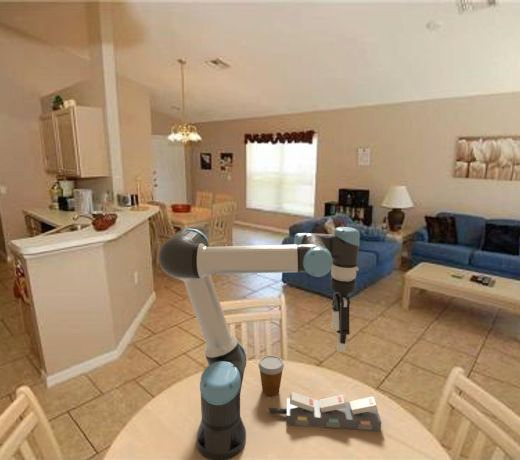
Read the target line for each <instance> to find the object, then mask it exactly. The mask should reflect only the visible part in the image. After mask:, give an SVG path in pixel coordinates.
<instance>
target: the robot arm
mask: <svg viewBox="0 0 520 460" xmlns="http://www.w3.org/2000/svg"><path fill="white" fill-rule="evenodd" d="M360 236H361V235H360V231H359V230H358V229H357V228H354V227H349V226H348V227H347V226H338V227H336V228H335V229H334V232H333V233H329V234H328V233H312V232H311V233H309V232H301V233H300V232H298V233H296V234H295V235H294V240H293V241H294V242H293V244H265V245H263V244H262V245H261V244H260V245H257V244H256V245H231V246H230V245H229V246H228V245H227V246H210V244H209V243H210V242H209V239H208V237H207V236H206V234H205V233H203V232H202V231H201V230H199V229H196V228H192V227H191V228H185V229H181V230H179V231H177V232H176V233H174V235H172V236H171V237H169V239H167V240H166V241H164V242H163V243H162V244H161V245H160V248H159V250H158V255H157V261H158V263H159V264H158V265H159V267H160V269H161V270H162V271H163V272H164V273H165V274H167V275H168V276H170V277H173V278H175V279H177V280H180V281H182V282H183V283H184V285H185V289H186V291H187V293H188V297H189V300H190V302H191V305H192V308H193V311H194V315H195V316H196V319H197V322H198V325H199V327H200V330H201V333H202V336H203V339H204V342H205V344H206V346H205V348H204V352H203V353H204V355H205V359H206V362H207V365H208V366H206V367H205V368H204V369H203V371H202V372H201V377H200V381H199V391H200V409H201V421H200V424H199V426H198V429H197V432H196V448H197V450H198V452H199V453H200V454H201V455H202V456H203V457H205V458H207V459H208V460H229V459H232V458H234V457H236V456H238V454H240V453H241V452H242V450H243V449H244V447H245V445H246V444H247V432H246V427H245V425H244V422H243V419H242V417H241V391H242V387H243V380H244V376H245V375H244V374H245V371H246V370H245V369H246V366H247V353H246V351H245V347H244V346H243V345H242V344H241V343H239V340H238V338H237V337H235V336H232V334H231V331H230V328H229V325H228V322H227V319H226V317H225V313H224V311H223V308H222V304H221V302H220V298H219V296H218V293H217V289H216V287H215V284H214V281H213V277H212V275H234V274H241V275H242V274H278V273H280V274H281V273H283V274H284V273H286V274H287V273H307V274H308V275H310V276H312V277H315V278H319V277H324V276H326V275H327V274H329V273H330V275H331V277H330V283H329V284H330V285H329V287H330V289H331V290H332V291H333V297H332V302H331V306H332V313H331V314H332V315H331V328H330V329H331V330H333V331H334V330H335V331H336V333H337V341H336V352H337V353H347V344H348V343H347V342H348V336H349V335H350V334H351V332H350V303H351V301H350V296H349V294H351V293H354V292H355V291H356V281H357V280H356V277H357V272H358V271H359V267H358V258H359V249H360ZM330 271H331V272H330Z"/></svg>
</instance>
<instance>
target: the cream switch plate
mask: <svg viewBox="0 0 520 460" xmlns="http://www.w3.org/2000/svg"><path fill="white" fill-rule="evenodd" d="M318 400H320V408H321V411H322V413H323V412H327V411H332V410H337V409H342V408H346V405H345V402H346V401H345V396H344V395H343V394H339V395H335V396H333V395H332V396H330V397H325V398H321V399H318Z"/></svg>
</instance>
